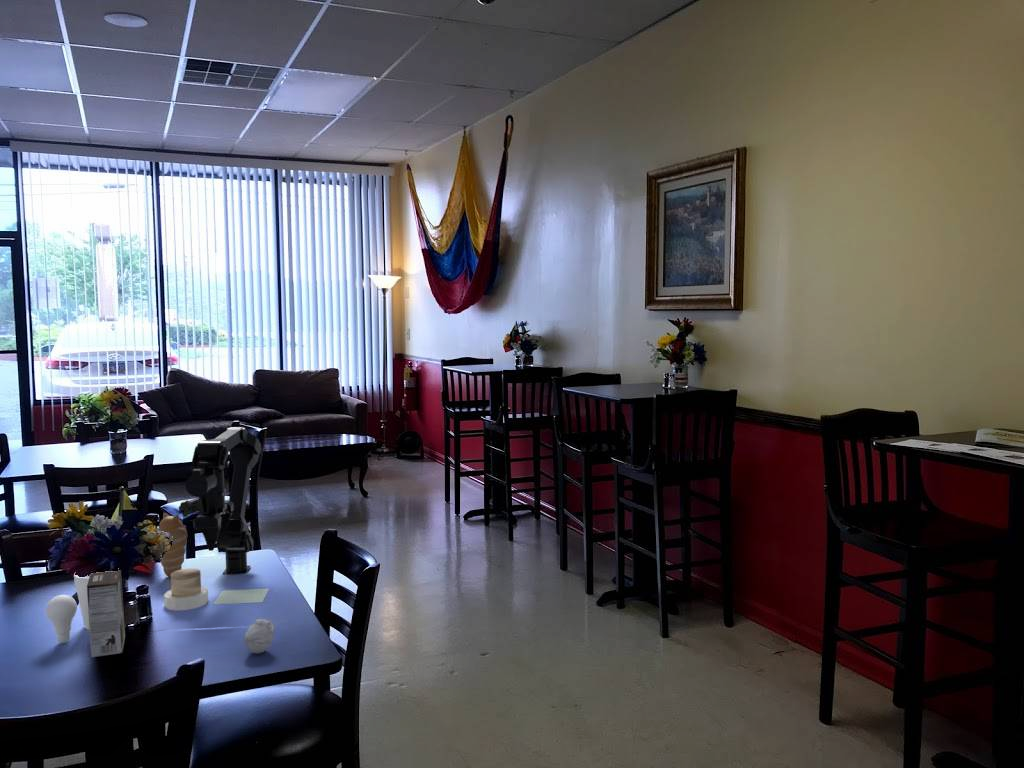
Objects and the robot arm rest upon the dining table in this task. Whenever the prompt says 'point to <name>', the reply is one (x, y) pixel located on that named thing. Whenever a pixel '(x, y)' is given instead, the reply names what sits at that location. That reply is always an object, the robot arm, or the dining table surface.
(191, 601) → the bowl
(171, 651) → the dining table surface
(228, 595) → the mat
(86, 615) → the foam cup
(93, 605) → the coffee box
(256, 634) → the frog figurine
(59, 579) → the dining table surface
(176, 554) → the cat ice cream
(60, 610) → the lightbulb
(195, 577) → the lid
